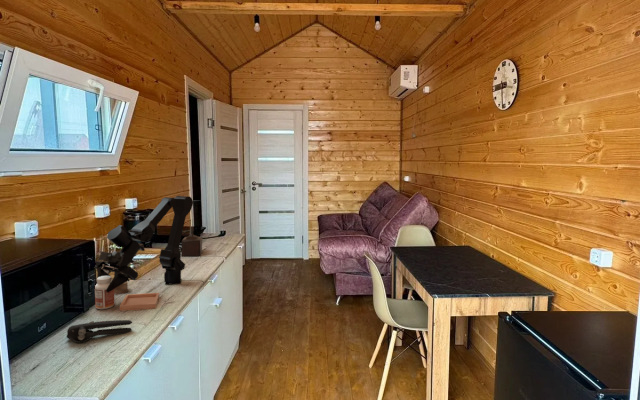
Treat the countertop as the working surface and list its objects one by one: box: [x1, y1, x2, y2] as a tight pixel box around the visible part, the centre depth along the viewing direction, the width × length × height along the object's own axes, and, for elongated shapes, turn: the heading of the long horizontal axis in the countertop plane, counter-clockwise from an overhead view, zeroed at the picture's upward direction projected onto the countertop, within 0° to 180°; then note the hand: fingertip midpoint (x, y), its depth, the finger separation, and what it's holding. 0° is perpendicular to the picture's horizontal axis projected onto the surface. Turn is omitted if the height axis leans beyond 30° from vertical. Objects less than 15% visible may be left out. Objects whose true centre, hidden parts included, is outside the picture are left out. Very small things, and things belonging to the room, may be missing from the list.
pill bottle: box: [94, 275, 115, 310], centre depth 140 cm, size 6×6×11 cm
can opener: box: [66, 319, 133, 343], centre depth 118 cm, size 18×7×6 cm, turn 121°
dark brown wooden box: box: [181, 226, 203, 258], centre depth 219 cm, size 16×11×18 cm
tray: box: [119, 292, 160, 312], centre depth 145 cm, size 12×12×2 cm
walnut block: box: [114, 281, 129, 295], centre depth 157 cm, size 5×5×4 cm
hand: (101, 290), depth 139 cm, fingers closed on pill bottle, 6 cm apart
